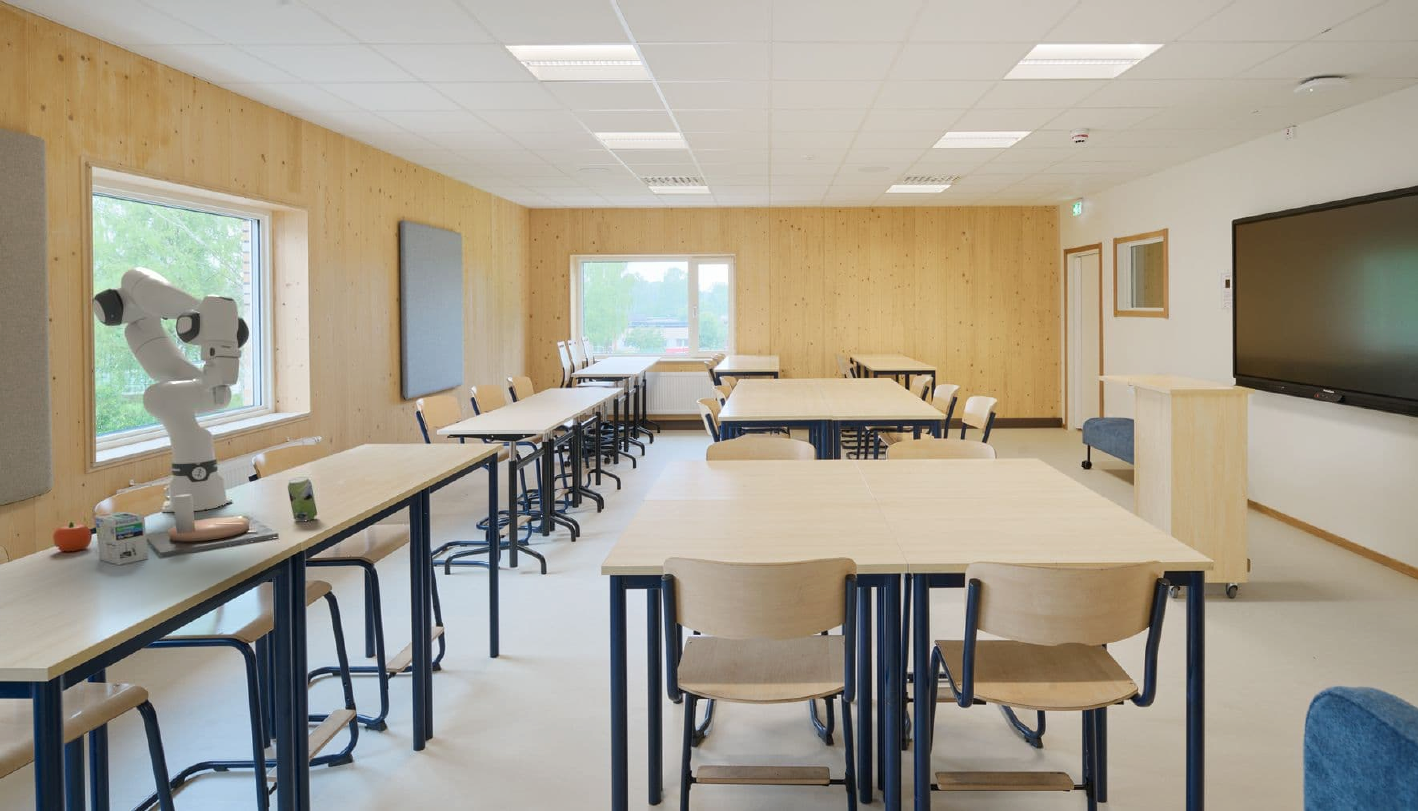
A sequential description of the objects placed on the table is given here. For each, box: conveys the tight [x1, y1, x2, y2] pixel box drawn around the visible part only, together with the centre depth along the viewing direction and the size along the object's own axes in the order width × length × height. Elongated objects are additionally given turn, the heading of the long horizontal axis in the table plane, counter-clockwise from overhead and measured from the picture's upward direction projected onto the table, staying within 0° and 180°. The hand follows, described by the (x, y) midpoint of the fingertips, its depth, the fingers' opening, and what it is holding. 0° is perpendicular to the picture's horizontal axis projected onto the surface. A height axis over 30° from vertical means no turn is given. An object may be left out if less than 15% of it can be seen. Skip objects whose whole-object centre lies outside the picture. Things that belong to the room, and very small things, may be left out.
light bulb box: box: [94, 510, 149, 566], centre depth 213 cm, size 11×7×11 cm, turn 56°
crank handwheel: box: [168, 494, 249, 541], centre depth 231 cm, size 18×18×11 cm
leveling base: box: [146, 514, 279, 559], centre depth 232 cm, size 26×26×3 cm
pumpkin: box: [52, 521, 93, 553], centre depth 223 cm, size 8×8×7 cm
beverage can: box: [287, 476, 318, 522], centre depth 250 cm, size 6×7×12 cm
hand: (218, 405), depth 242 cm, fingers closed
